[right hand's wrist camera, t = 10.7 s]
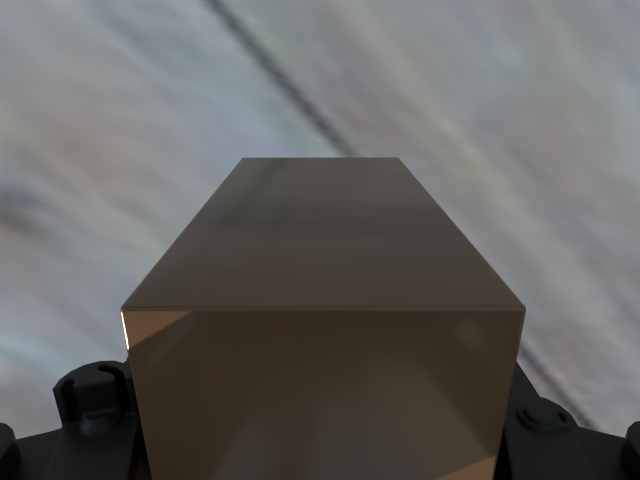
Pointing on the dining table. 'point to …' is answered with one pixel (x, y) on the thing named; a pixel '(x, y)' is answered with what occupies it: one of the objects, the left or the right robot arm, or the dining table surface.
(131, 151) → the dining table surface
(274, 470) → the bar
